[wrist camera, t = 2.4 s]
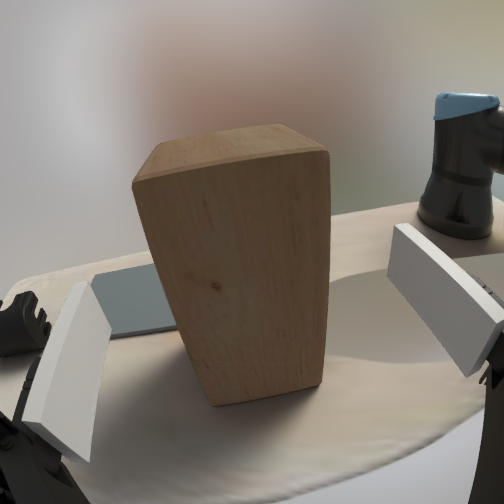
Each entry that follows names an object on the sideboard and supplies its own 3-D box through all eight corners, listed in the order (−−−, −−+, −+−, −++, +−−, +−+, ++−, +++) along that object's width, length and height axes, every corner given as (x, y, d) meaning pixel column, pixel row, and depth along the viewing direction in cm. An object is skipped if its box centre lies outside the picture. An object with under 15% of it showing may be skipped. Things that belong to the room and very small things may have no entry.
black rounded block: (-5, 371, 27) (-33, 334, 23) (6, 336, 33) (-17, 301, 29) (47, 360, 29) (19, 320, 26) (55, 323, 35) (32, 285, 31)
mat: (193, 259, 45) (192, 256, 44) (194, 325, 33) (193, 322, 33) (96, 277, 43) (95, 274, 43) (73, 342, 32) (70, 339, 31)
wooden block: (210, 409, 24) (127, 181, 13) (204, 330, 32) (155, 143, 22) (323, 385, 24) (333, 147, 14) (294, 312, 33) (281, 122, 22)
